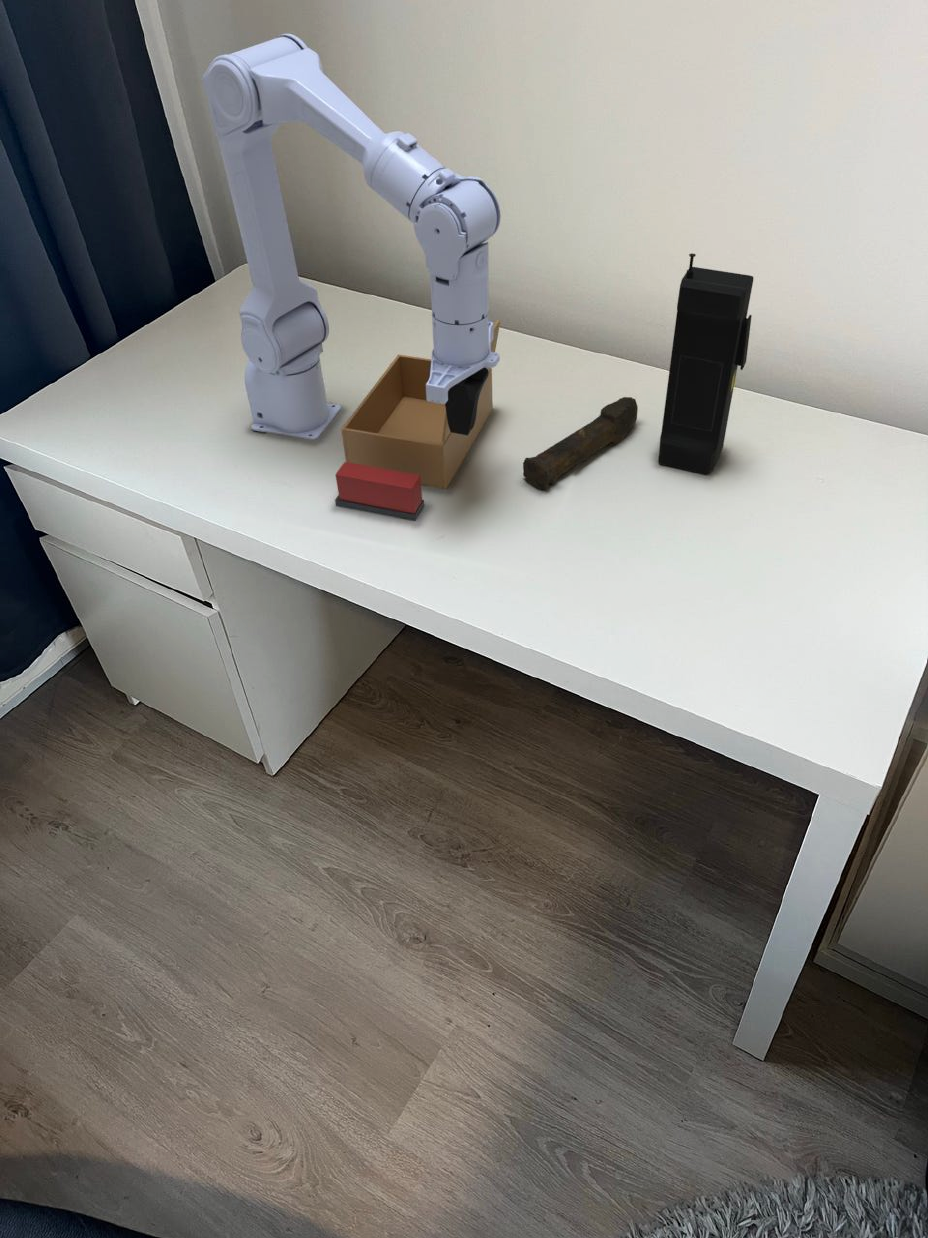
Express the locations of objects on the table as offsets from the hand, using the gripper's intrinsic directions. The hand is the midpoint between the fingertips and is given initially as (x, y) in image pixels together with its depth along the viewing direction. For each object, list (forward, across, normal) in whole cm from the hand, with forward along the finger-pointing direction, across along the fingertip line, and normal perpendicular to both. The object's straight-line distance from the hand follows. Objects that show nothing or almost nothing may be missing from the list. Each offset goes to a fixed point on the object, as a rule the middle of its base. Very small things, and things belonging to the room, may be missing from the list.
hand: (463, 428), depth 104 cm
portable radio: (+9, +16, -24) cm, 30 cm away
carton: (+9, +9, +9) cm, 16 cm away
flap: (-1, +9, +3) cm, 9 cm away
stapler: (+10, -5, +9) cm, 14 cm away
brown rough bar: (+9, +13, -11) cm, 19 cm away
